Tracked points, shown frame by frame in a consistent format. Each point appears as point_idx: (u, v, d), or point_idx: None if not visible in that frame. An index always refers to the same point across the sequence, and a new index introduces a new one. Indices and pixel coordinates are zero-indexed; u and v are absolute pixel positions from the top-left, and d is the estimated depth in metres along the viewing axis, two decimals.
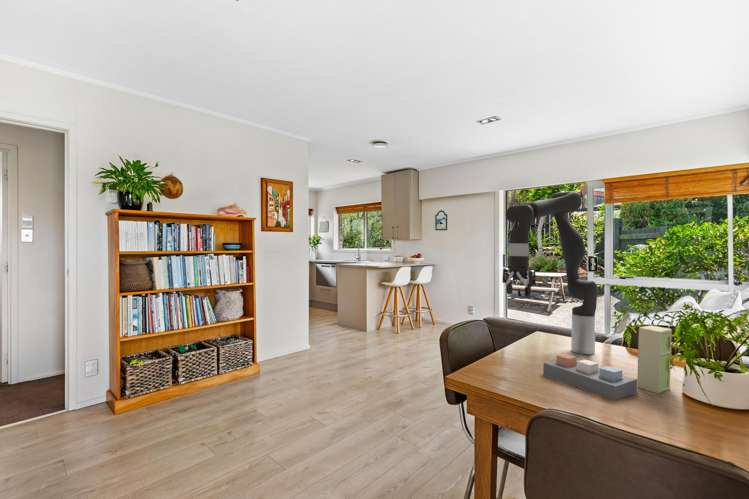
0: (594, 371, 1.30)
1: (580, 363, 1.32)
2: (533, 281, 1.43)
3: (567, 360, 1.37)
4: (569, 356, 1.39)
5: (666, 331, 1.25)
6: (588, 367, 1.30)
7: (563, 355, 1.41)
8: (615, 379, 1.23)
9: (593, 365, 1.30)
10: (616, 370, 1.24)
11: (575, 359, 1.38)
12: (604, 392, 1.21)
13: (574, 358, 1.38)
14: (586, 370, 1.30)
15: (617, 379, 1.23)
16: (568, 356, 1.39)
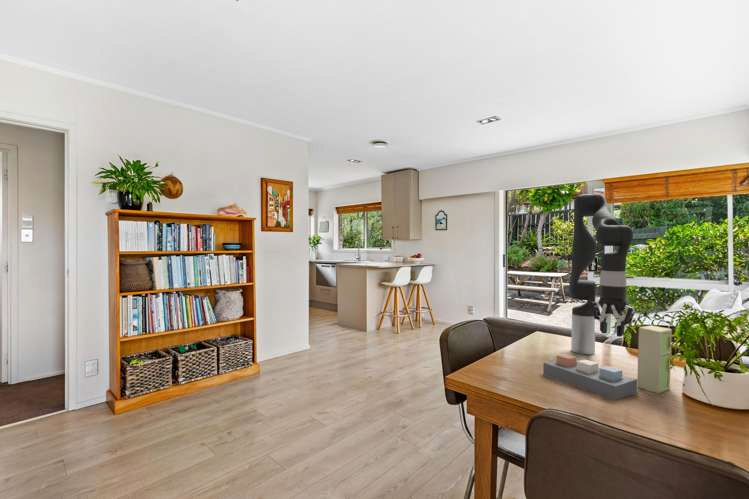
0: (594, 371, 1.30)
1: (580, 363, 1.32)
2: (629, 319, 1.21)
3: (567, 360, 1.37)
4: (569, 356, 1.39)
5: (666, 331, 1.25)
6: (588, 367, 1.30)
7: (563, 355, 1.41)
8: (615, 379, 1.23)
9: (593, 365, 1.30)
10: (616, 370, 1.24)
11: (575, 359, 1.38)
12: (604, 392, 1.21)
13: (574, 358, 1.38)
14: (586, 370, 1.30)
15: (617, 379, 1.23)
16: (568, 356, 1.39)
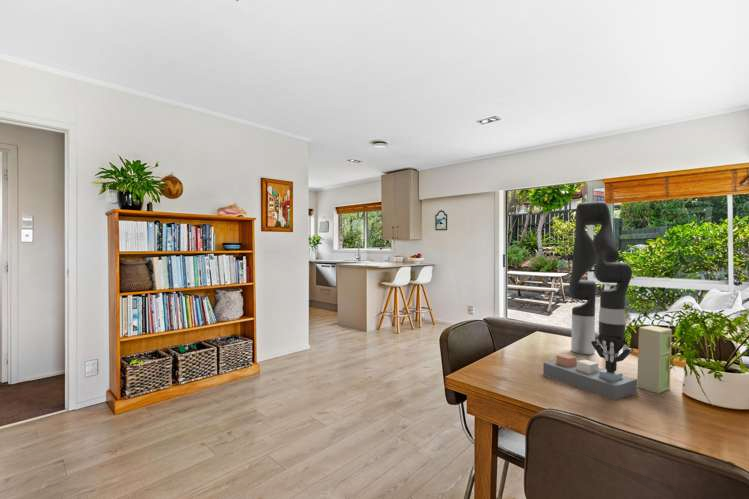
0: (594, 371, 1.30)
1: (580, 363, 1.32)
2: None
3: (567, 360, 1.37)
4: (569, 356, 1.39)
5: (666, 331, 1.25)
6: (588, 367, 1.30)
7: (563, 355, 1.41)
8: None
9: (593, 365, 1.30)
10: (616, 373, 1.24)
11: (575, 359, 1.38)
12: (604, 392, 1.21)
13: (574, 358, 1.38)
14: (586, 370, 1.30)
15: None
16: (568, 356, 1.39)
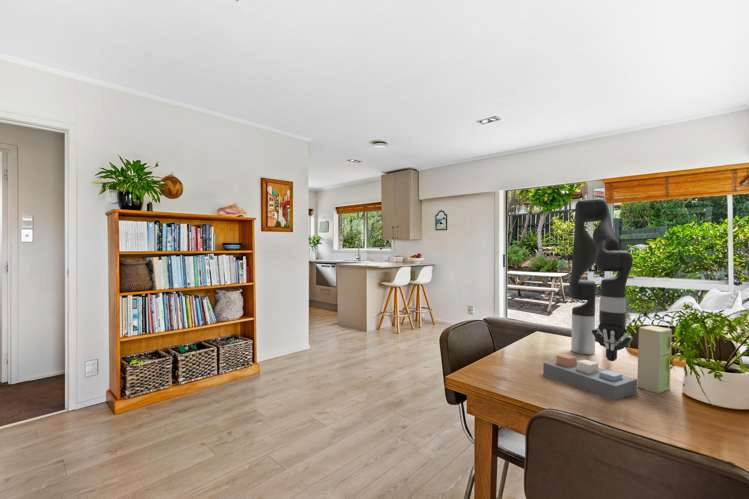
0: (594, 371, 1.30)
1: (580, 363, 1.32)
2: None
3: (567, 360, 1.37)
4: (569, 356, 1.39)
5: (666, 331, 1.25)
6: (588, 367, 1.30)
7: (563, 355, 1.41)
8: None
9: (593, 365, 1.30)
10: (616, 374, 1.24)
11: (575, 359, 1.38)
12: (604, 392, 1.21)
13: (574, 358, 1.38)
14: (586, 370, 1.30)
15: None
16: (568, 356, 1.39)
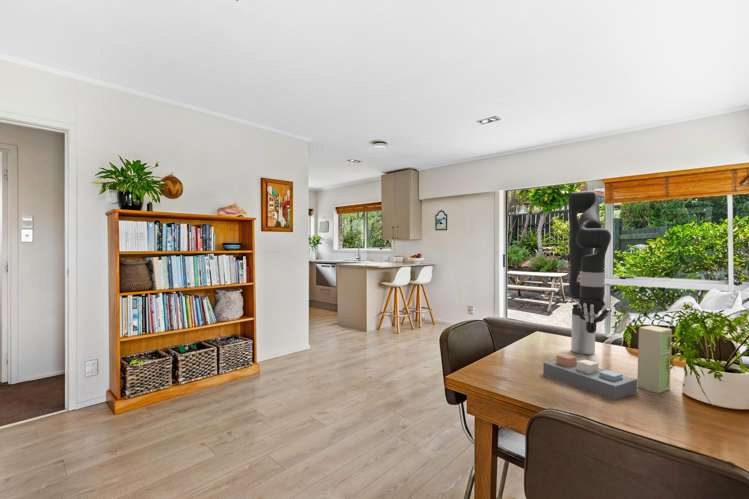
0: (594, 371, 1.30)
1: (580, 363, 1.32)
2: (602, 317, 1.30)
3: (567, 360, 1.37)
4: (569, 356, 1.39)
5: (666, 331, 1.25)
6: (588, 367, 1.30)
7: (563, 355, 1.41)
8: None
9: (593, 365, 1.30)
10: (616, 374, 1.24)
11: (575, 359, 1.38)
12: (604, 392, 1.21)
13: (574, 358, 1.38)
14: (586, 370, 1.30)
15: None
16: (568, 356, 1.39)
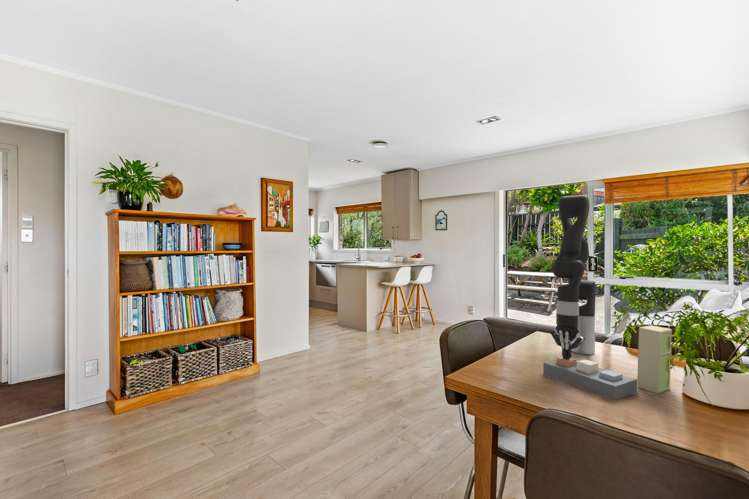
0: (594, 371, 1.30)
1: (580, 363, 1.32)
2: None
3: (567, 362, 1.37)
4: None
5: (666, 331, 1.25)
6: (588, 367, 1.30)
7: None
8: None
9: (593, 365, 1.30)
10: (616, 374, 1.24)
11: (575, 362, 1.38)
12: (604, 392, 1.21)
13: (574, 361, 1.38)
14: (586, 370, 1.30)
15: None
16: None
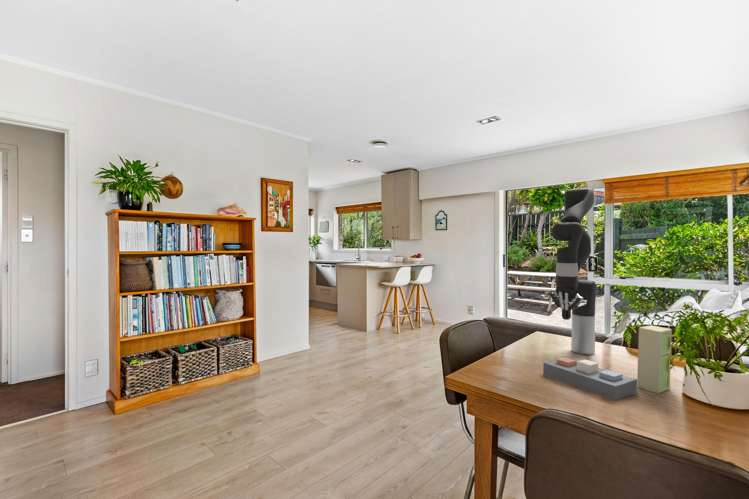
0: (594, 371, 1.30)
1: (580, 363, 1.32)
2: None
3: (567, 364, 1.37)
4: (569, 360, 1.39)
5: (666, 331, 1.25)
6: (588, 367, 1.30)
7: (563, 358, 1.41)
8: None
9: (593, 365, 1.30)
10: (616, 374, 1.24)
11: (575, 363, 1.38)
12: (604, 392, 1.21)
13: (574, 362, 1.38)
14: (586, 370, 1.30)
15: None
16: (568, 360, 1.39)
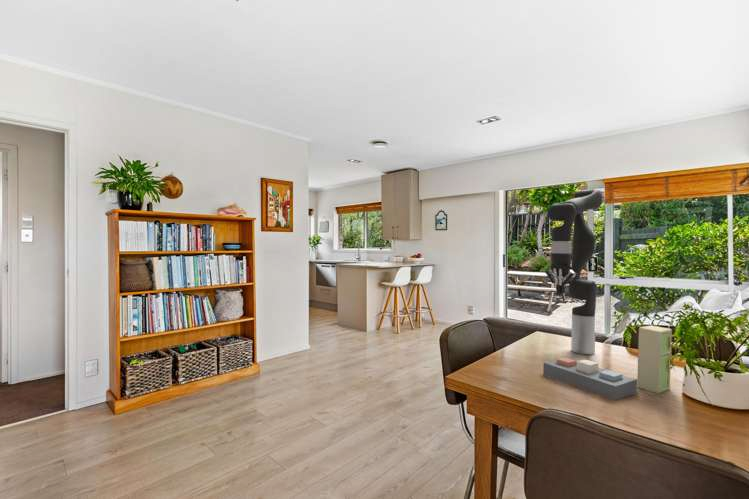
0: (594, 371, 1.30)
1: (580, 363, 1.32)
2: (569, 280, 1.50)
3: (567, 364, 1.37)
4: (569, 360, 1.39)
5: (666, 331, 1.25)
6: (588, 367, 1.30)
7: (563, 358, 1.41)
8: None
9: (593, 365, 1.30)
10: (616, 374, 1.24)
11: (575, 363, 1.38)
12: (604, 392, 1.21)
13: (574, 362, 1.38)
14: (586, 370, 1.30)
15: None
16: (568, 360, 1.39)
